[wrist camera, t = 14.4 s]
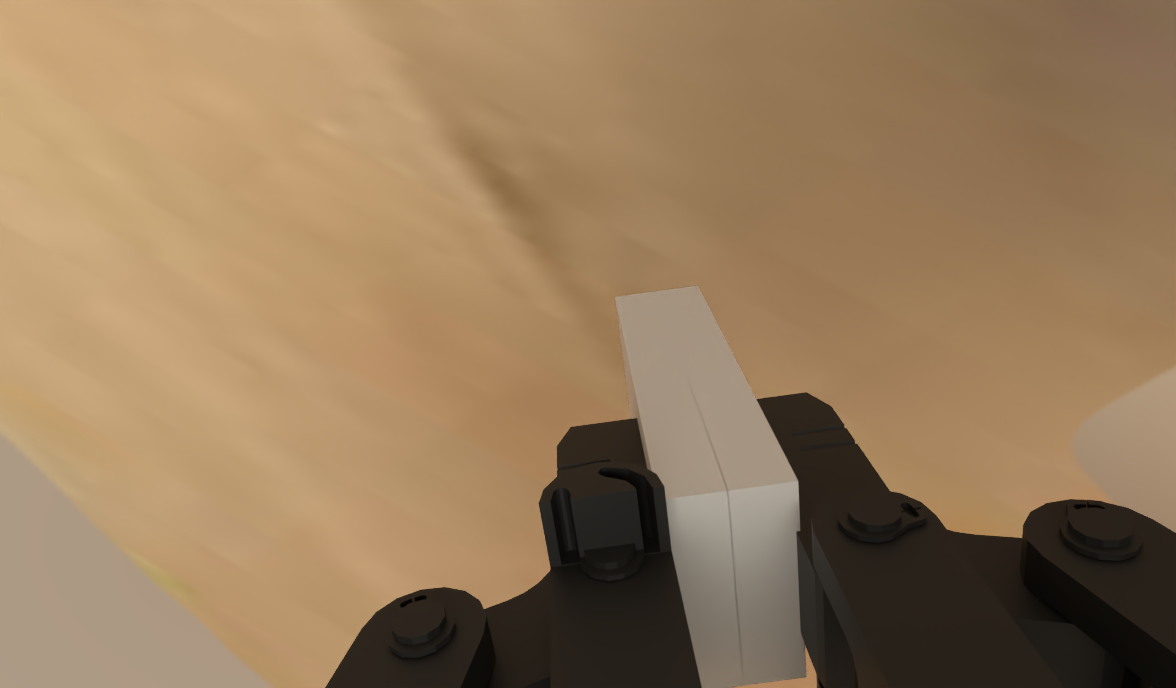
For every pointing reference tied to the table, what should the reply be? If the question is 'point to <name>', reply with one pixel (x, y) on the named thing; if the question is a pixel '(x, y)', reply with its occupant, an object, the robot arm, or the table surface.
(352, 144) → the table surface
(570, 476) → the robot arm
